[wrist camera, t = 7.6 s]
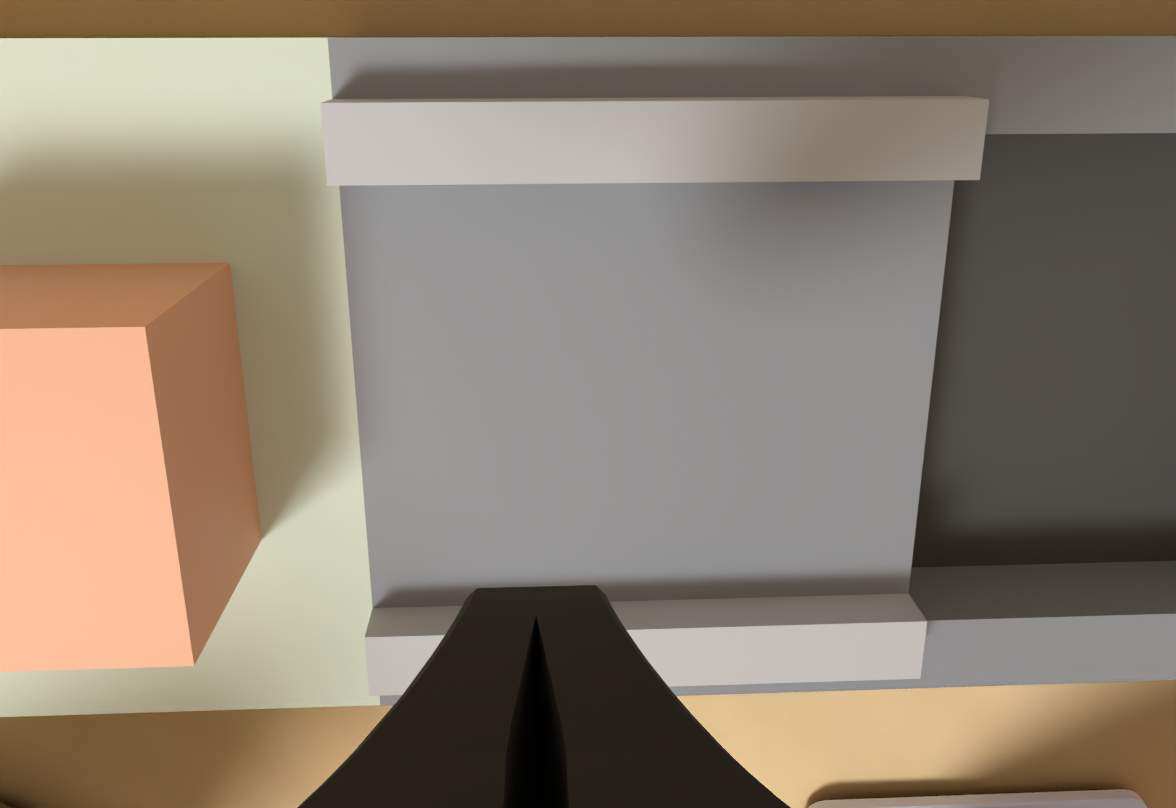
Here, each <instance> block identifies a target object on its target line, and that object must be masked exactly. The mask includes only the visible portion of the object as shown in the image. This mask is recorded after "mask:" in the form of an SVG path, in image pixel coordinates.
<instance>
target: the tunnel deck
mask: <svg viewBox="0 0 1176 808" xmlns="http://www.w3.org/2000/svg"><path fill="white" fill-rule="evenodd" d="M156 263H230V269H231V277H232V286H233V295H234V303H235V312H236V321H237V329H238V338H239V347H240V355H241V364H242V373H243V381H244V390H245V399H246V407H247V416H248V425H249V433H250V442H251V451H252V459H253V468H254V477H255V485H256V494H257V503H258V511H259V520H260V529H261V537H262V540H261V542H260V544H259V546H258V548H257V549H256V551H255V553H254V555H253V557H252V559H251V561H250V563H249V564H248V566H247V568H246V570H245V572H244V574H243V576H242V578H241V579H240V581H239V583H238V585H237V587H236V589H235V591H234V592H233V594H232V596H231V598H230V600H229V602H228V604H227V606H226V607H225V609H224V611H223V613H222V615H221V617H220V619H219V621H218V622H217V624H216V626H215V628H214V630H213V632H212V634H211V636H210V637H209V639H208V641H207V643H206V645H205V647H204V649H203V650H202V652H201V654H200V656H199V658H198V660H197V662H196V664H195V665H194V666H183V667H149V668H115V669H81V670H47V671H14V672H0V717H23V716H55V715H86V714H118V713H149V712H181V711H213V710H244V709H276V708H307V707H339V706H371V705H395V703H396V702H397V701H398V700H399V698H400V697H401V696H402V695H403V693H404V692H405V691H406V689H407V688H408V687H409V685H410V684H411V683H412V681H413V680H414V678H415V677H416V676H417V674H418V673H419V672H420V670H421V669H422V668H423V666H424V665H425V664H426V662H427V661H428V659H429V658H430V657H431V655H432V654H433V652H434V651H435V649H436V648H437V646H438V645H439V643H440V642H441V640H442V639H443V637H444V636H445V634H446V633H447V631H448V630H449V628H450V626H451V625H452V623H453V622H454V620H455V618H456V616H457V615H458V613H459V611H460V609H461V608H462V606H463V604H464V602H465V600H466V598H467V597H468V596H469V595H470V594H471V593H472V592H473V591H474V590H475V589H477V588H500V587H539V586H578V585H596V586H597V587H598V588H599V589H600V590H601V591H602V592H603V593H604V594H605V595H606V596H607V598H608V600H609V602H610V604H611V606H612V608H613V609H614V611H615V613H616V614H617V616H618V618H619V619H620V621H621V623H622V624H623V626H624V627H625V629H626V630H627V632H628V633H629V635H630V636H631V638H632V639H633V641H634V642H635V643H636V645H637V646H638V648H639V649H640V651H641V652H642V653H643V655H644V656H645V657H646V659H647V660H648V662H649V663H650V664H651V665H652V667H653V668H654V669H655V670H656V672H657V673H658V674H659V675H660V677H661V678H662V679H663V680H664V682H665V683H666V684H667V686H668V687H669V688H670V689H671V691H672V692H673V693H674V694H675V696H687V695H718V694H750V693H781V692H813V691H845V690H876V689H908V688H939V687H971V686H1003V685H1034V684H1066V683H1097V682H1129V681H1161V680H1176V35H1168V36H714V37H259V38H0V265H72V264H156Z"/></svg>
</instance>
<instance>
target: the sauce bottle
mask: <svg viewBox="0 0 1176 808" xmlns="http://www.w3.org/2000/svg"><path fill="white" fill-rule="evenodd" d="M0 808H12V807H9V806H6V805H5V804H4V803H2V802H0Z"/></svg>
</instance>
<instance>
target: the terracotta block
mask: <svg viewBox="0 0 1176 808" xmlns="http://www.w3.org/2000/svg"><path fill="white" fill-rule="evenodd" d="M261 540H262V537H261V529H260V520H259V511H258V503H257V494H256V485H255V477H254V468H253V459H252V451H251V442H250V433H249V425H248V416H247V407H246V399H245V390H244V381H243V373H242V364H241V355H240V347H239V338H238V329H237V321H236V312H235V303H234V295H233V286H232V277H231V269H230V263H156V264H72V265H0V672H14V671H47V670H81V669H115V668H149V667H183V666H194V665H195V664H196V662H197V660H198V658H199V656H200V654H201V652H202V650H203V649H204V647H205V645H206V643H207V641H208V639H209V637H210V636H211V634H212V632H213V630H214V628H215V626H216V624H217V622H218V621H219V619H220V617H221V615H222V613H223V611H224V609H225V607H226V606H227V604H228V602H229V600H230V598H231V596H232V594H233V592H234V591H235V589H236V587H237V585H238V583H239V581H240V579H241V578H242V576H243V574H244V572H245V570H246V568H247V566H248V564H249V563H250V561H251V559H252V557H253V555H254V553H255V551H256V549H257V548H258V546H259V544H260V542H261Z"/></svg>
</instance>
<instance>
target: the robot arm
mask: <svg viewBox="0 0 1176 808" xmlns="http://www.w3.org/2000/svg"><path fill="white" fill-rule="evenodd" d="M298 808H790V807H789V806H788V805H786V804H785V803H784V802H783V801H781V800H780V799H779V798H778V797H776V796H775V795H774V794H773V793H772V792H771V791H769V790H768V789H767V788H766V787H765V786H764V785H762V784H761V783H760V782H759V781H758V780H757V779H756V778H754V777H753V776H752V775H751V774H750V773H749V772H748V771H747V770H745V769H744V768H743V767H742V766H741V765H740V764H739V763H738V762H737V761H736V760H735V759H734V758H733V757H732V756H731V755H730V754H729V753H728V752H727V751H726V750H725V749H724V748H723V747H722V746H721V745H720V744H719V743H718V742H717V741H716V740H715V739H714V738H713V737H712V736H711V735H710V733H709V732H708V731H707V730H706V729H705V728H704V727H703V726H702V725H701V724H700V723H699V722H698V721H697V720H696V719H695V717H694V716H693V715H692V714H691V713H690V712H689V711H688V709H687V708H686V707H685V706H684V705H683V704H682V703H681V701H680V700H679V699H678V698H677V697H676V696H675V694H674V693H673V692H672V691H671V689H670V688H669V687H668V686H667V684H666V683H665V682H664V680H663V679H662V678H661V677H660V675H659V674H658V673H657V672H656V670H655V669H654V668H653V667H652V665H651V664H650V663H649V662H648V660H647V659H646V657H645V656H644V655H643V653H642V652H641V651H640V649H639V648H638V646H637V645H636V643H635V642H634V641H633V639H632V638H631V636H630V635H629V633H628V632H627V630H626V629H625V627H624V626H623V624H622V623H621V621H620V619H619V618H618V616H617V614H616V613H615V611H614V609H613V608H612V606H611V604H610V602H609V600H608V598H607V596H606V595H605V594H604V593H603V592H602V591H601V590H600V589H599V588H598V587H597V586H596V585H578V586H539V587H500V588H477V589H475V590H474V591H473V592H472V593H471V594H470V595H469V596H468V597H467V598H466V600H465V602H464V604H463V606H462V608H461V609H460V611H459V613H458V615H457V616H456V618H455V620H454V622H453V623H452V625H451V626H450V628H449V630H448V631H447V633H446V634H445V636H444V637H443V639H442V640H441V642H440V643H439V645H438V646H437V648H436V649H435V651H434V652H433V654H432V655H431V657H430V658H429V659H428V661H427V662H426V664H425V665H424V666H423V668H422V669H421V670H420V672H419V673H418V674H417V676H416V677H415V678H414V680H413V681H412V683H411V684H410V685H409V687H408V688H407V689H406V691H405V692H404V693H403V695H402V696H401V697H400V698H399V700H398V701H397V702H396V703H395V705H394V706H393V707H392V708H391V709H390V711H389V712H388V713H387V714H386V715H385V716H384V718H383V719H382V720H381V721H380V722H379V723H378V724H377V726H376V727H375V728H374V729H373V730H372V731H371V733H370V734H369V735H368V736H367V737H366V738H365V740H364V741H363V742H362V743H361V744H360V745H359V747H358V748H357V749H356V750H355V751H354V752H353V753H352V754H351V755H350V756H349V757H348V758H347V760H346V761H345V762H344V763H343V764H342V765H341V766H340V767H339V768H338V769H337V770H336V771H335V772H334V773H333V774H332V775H331V776H330V777H329V778H328V779H327V780H326V781H325V782H324V783H323V784H322V785H321V786H320V787H319V788H318V789H317V790H316V791H315V792H314V793H313V794H311V795H310V796H309V797H308V798H307V799H306V800H305V801H304V802H303V803H302V804H301V805H300V806H299V807H298ZM808 808H1147V806H1146V804H1145V803H1144V801H1143V800H1142V799H1141V798H1140V796H1139V795H1138V794H1137V793H1135V792H1134V791H1132V790H1126V789H1116V790H1088V791H1061V792H1034V793H1006V794H979V795H951V796H924V797H897V798H869V799H842V800H823V801H818V802H816V803H814V804H812V805H810V806H809V807H808Z"/></svg>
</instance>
